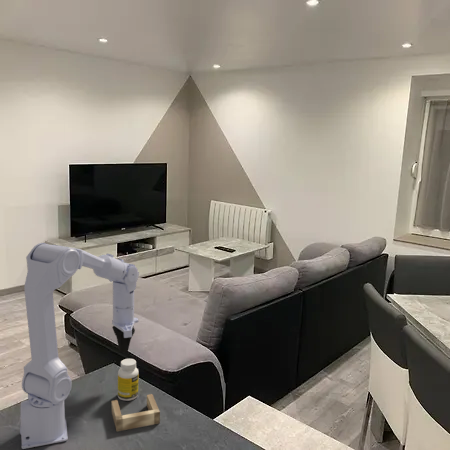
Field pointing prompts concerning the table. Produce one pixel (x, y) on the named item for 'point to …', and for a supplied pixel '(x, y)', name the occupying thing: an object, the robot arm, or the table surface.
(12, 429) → the table surface
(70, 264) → the robot arm
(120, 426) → the dock
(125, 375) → the supplement bottle
